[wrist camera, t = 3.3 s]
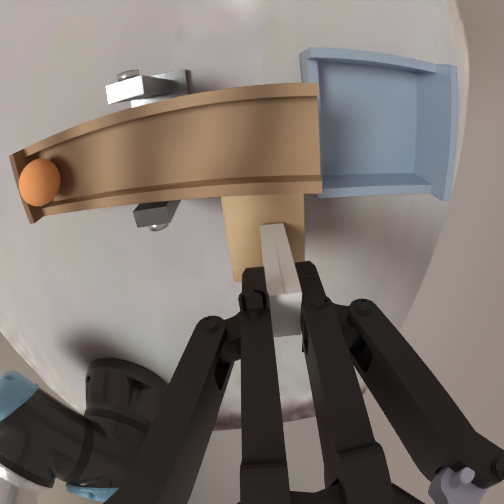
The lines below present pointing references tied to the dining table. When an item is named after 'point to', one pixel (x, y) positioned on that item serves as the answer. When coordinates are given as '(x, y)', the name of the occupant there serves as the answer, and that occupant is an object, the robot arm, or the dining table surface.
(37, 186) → the ball
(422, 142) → the tray
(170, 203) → the stand
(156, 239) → the dining table surface
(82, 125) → the lever
